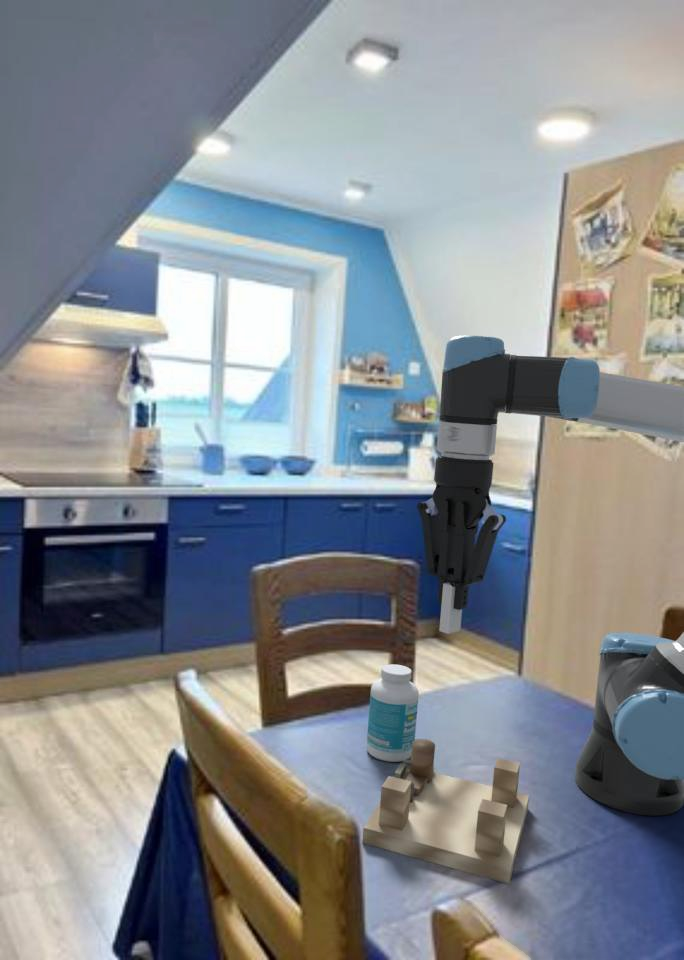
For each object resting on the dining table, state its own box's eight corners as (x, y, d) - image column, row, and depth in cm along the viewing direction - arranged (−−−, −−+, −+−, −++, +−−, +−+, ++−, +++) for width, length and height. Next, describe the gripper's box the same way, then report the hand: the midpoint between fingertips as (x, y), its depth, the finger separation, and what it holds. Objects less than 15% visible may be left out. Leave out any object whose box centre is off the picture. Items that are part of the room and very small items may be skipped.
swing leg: (421, 796, 102) (424, 760, 101) (398, 789, 103) (401, 754, 103) (435, 776, 108) (438, 742, 107) (413, 770, 109) (416, 736, 108)
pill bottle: (410, 767, 115) (417, 681, 113) (362, 759, 116) (368, 674, 115) (415, 746, 122) (422, 664, 120) (370, 738, 123) (376, 658, 122)
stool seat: (527, 809, 105) (532, 760, 104) (509, 883, 88) (514, 826, 87) (402, 778, 111) (405, 732, 110) (362, 842, 94) (366, 789, 93)
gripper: (408, 451, 102) (394, 622, 104) (491, 461, 93) (474, 649, 95) (442, 451, 107) (428, 614, 110) (523, 461, 98) (506, 638, 101)
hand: (449, 630), depth 102 cm, fingers closed
